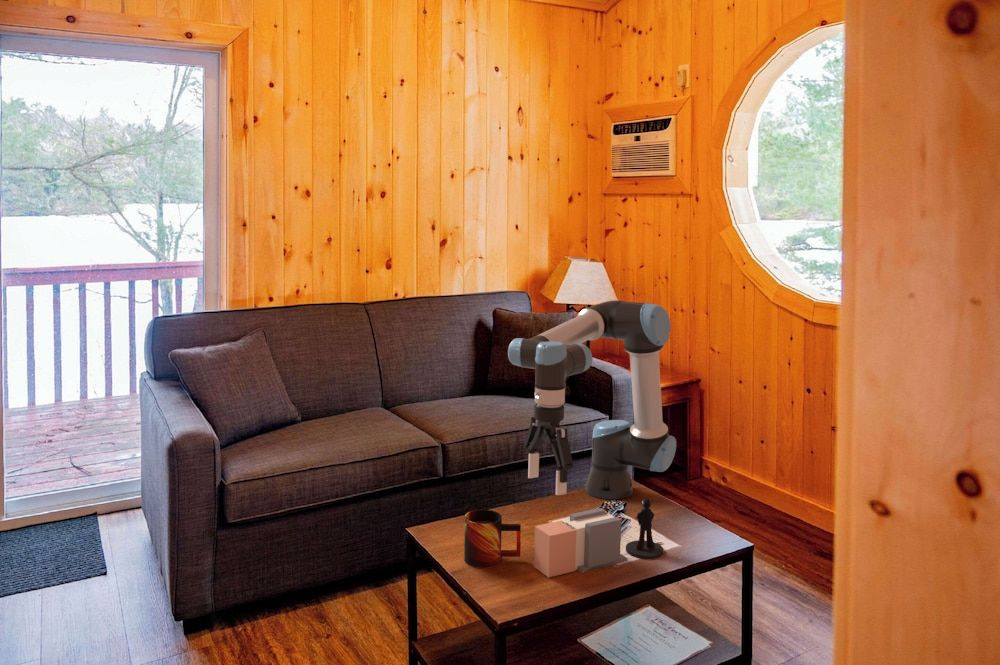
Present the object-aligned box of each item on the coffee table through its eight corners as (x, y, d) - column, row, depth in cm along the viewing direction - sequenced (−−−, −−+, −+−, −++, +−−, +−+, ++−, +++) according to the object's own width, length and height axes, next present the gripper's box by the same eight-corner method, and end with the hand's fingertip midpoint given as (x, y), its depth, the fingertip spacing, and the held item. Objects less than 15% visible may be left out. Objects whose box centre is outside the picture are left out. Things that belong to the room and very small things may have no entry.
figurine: (656, 542, 231) (658, 491, 229) (668, 558, 221) (671, 504, 219) (621, 544, 230) (623, 492, 227) (632, 560, 220) (634, 506, 217)
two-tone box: (606, 548, 227) (608, 506, 225) (627, 561, 219) (629, 517, 217) (559, 559, 219) (560, 516, 217) (578, 573, 212) (580, 528, 210)
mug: (521, 560, 218) (522, 517, 216) (474, 571, 212) (474, 526, 210) (504, 546, 227) (505, 504, 225) (458, 556, 221) (458, 513, 219)
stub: (559, 560, 218) (561, 519, 217) (575, 570, 212) (576, 529, 210) (533, 566, 215) (534, 525, 213) (548, 577, 209) (549, 535, 207)
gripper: (512, 394, 217) (510, 472, 221) (563, 417, 195) (560, 503, 199) (537, 392, 221) (534, 469, 224) (589, 414, 199) (586, 499, 202)
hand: (546, 485), depth 211 cm, fingers open, 13 cm apart
